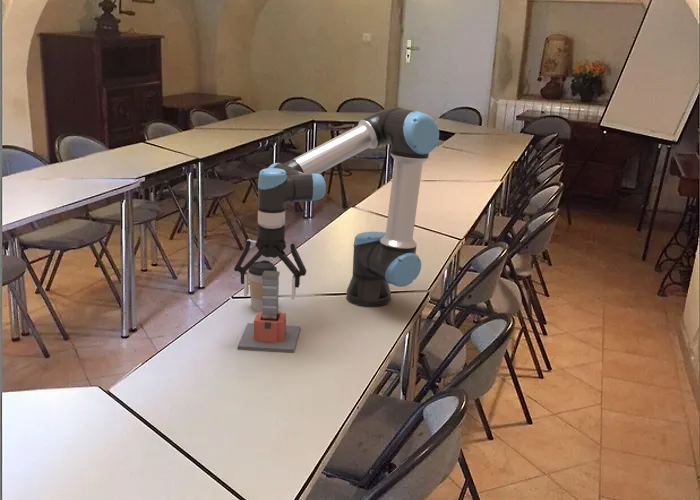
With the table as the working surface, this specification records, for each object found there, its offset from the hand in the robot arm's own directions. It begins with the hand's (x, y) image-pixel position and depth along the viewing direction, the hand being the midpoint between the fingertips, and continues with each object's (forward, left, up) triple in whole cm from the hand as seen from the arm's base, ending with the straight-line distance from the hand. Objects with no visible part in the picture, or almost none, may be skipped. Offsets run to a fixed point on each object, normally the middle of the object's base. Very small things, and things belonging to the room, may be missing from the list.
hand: (269, 296), depth 205 cm
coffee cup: (+6, -23, -14) cm, 27 cm away
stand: (0, 0, -14) cm, 14 cm away
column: (0, 0, -12) cm, 12 cm away
